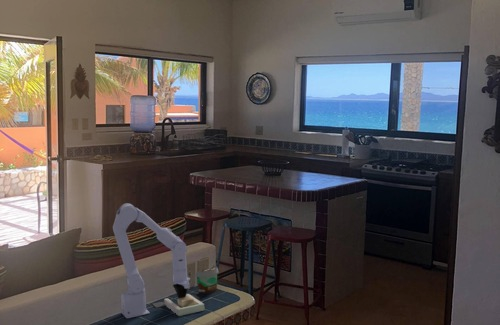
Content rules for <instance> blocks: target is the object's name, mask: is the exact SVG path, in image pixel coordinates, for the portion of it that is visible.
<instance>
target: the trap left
mask: <svg viewBox="0 0 500 325" xmlns="http://www.w3.org/2000/svg"><path fill="white" fill-rule="evenodd" d="M151 305H152V306H154V307H155V309H159V308H163V307H167V306H166V305H165V302H164V301H158V302H153V303H151Z"/></svg>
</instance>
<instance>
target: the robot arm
mask: <svg viewBox="0 0 500 325" xmlns="http://www.w3.org/2000/svg"><path fill="white" fill-rule="evenodd" d="M134 221H135V222H136V223H143V224H144V225H145V226H146V227H147V228H149V229H150V230H151V231H152V232H153V233H155V234H156V239H157V240H158V241H159V242H160V243H161V244H163V245H164V246H166V248H168V249H170V251H171V254H172V260H171V261H172V274H173V275H172V281H173V282H172V283H174V284H172V287H173V288H174V290H175V292H176V293H175V294H176V296H177V298H182V297H186V294H187V291H188V290H189V289H190V288H191V287H190V285H191V284H190V282H189V281H190V280H191V277H188V265H187V251H188V246H187V244H186V243H185V242H184V241H183V240H182V239H181V237H180V236H178V235H176V234H175V233H174V232H172V228H170V227H169V228H167V227H161V226H160V224H157V222H155V221H154V220H153V219H152V218H151V217H150V216H149V215H147V213H146V212H144V211H142V210H141V209H139V208H138V207H135V206H134V205H133V204H132V203H129V202H128V203H127V202H126V203H123V204H122V205H120V207H119V208H118V210H117V211H116V215H115V218H114V222H113V225H112V231H113V234H114V237H115V241H116V244H117V248H118V250H119V254H120V257H121V260H122V262H123V264H122V265H123V267H124V270H125V274H126V284H127V286H128V287H127V289H126V292H125V293H122V294H121V295H120V301H121V302H120V303H121V304H120V305H121V315H123V316H124V317H125V318H126V319H131V318H135V317H140V316H143V315H144V316H145V315H149V314H151V312H150V311H149V310H148V309H147V298H146V288H145V287H146V284H145V281H144V280H143V278H142V275H141V273H140V272H139V269H138V267H137V264H136V260H135V257H134V253H133V251H132V247H131V244H130V242H129V241H130V240H129V237H128V235H127V230H128V227H129V226H130V224H131V223H133V222H134Z"/></svg>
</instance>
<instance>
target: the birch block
mask: <svg viewBox="0 0 500 325" xmlns="http://www.w3.org/2000/svg"><path fill="white" fill-rule="evenodd" d="M192 305H194V299H193V298H191V297H190V296H186V297H182V298H178V297H177V306H179V307H180V308H183V307H188V306H192Z"/></svg>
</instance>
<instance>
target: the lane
mask: <svg viewBox="0 0 500 325" xmlns="http://www.w3.org/2000/svg"><path fill="white" fill-rule="evenodd" d="M186 296H190V297H191V298H193V299H194V305H192V306H188V307H183V308H180V307H179V306H178V304H177V303H175V302H173V300H170V299H169V298H164V299H163V300H164V301H163V303H165V305H166V306H165V307H166V308H168V309H169V310H170V309H171V310H170V311H171V312H173V313H174V314H175V313H176V314H175V315H177V316H178V317H181V316H186V315H189V314H190V315H191V314H195V313H198V312H203V311H205V303H203V302H202V301H200V299H196V298H194V297H193V296H191V294H190V293H186Z"/></svg>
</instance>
